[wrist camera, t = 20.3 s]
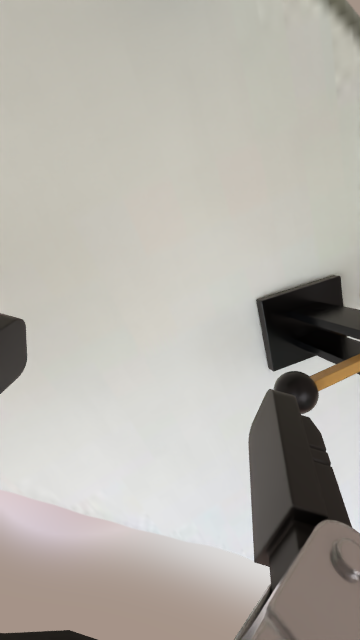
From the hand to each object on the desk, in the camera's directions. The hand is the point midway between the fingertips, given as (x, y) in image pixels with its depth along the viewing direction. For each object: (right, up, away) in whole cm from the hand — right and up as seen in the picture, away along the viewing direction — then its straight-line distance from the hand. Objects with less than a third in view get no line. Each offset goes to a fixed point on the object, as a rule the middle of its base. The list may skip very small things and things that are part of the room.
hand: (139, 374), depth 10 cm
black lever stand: (+18, +1, +31) cm, 36 cm away
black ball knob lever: (+16, -3, +19) cm, 25 cm away
